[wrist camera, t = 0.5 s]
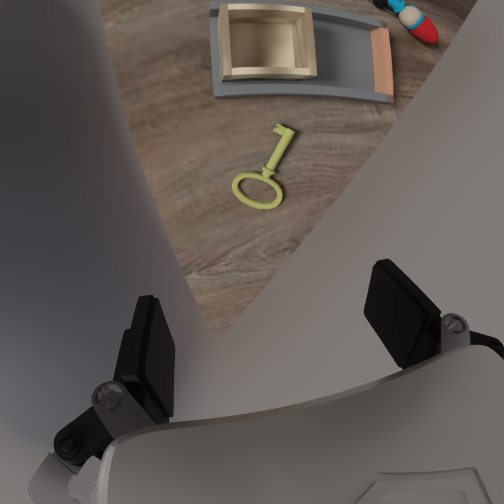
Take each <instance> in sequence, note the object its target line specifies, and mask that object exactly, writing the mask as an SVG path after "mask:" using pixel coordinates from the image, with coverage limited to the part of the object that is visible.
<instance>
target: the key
mask: <svg viewBox="0 0 504 504" xmlns="http://www.w3.org/2000/svg"><path fill="white" fill-rule="evenodd" d="M276 125H277V126H278V128H277V127H276V128H274V130H273V131H275V132H277V133H279V134H281V135H283V136H282V138H281V140H280V141H279V143H278V145H277V147H276V149H275V151H274V152H273V154H272V156H271V158H270V160H269V161H268V163H267V165H266V166H263V167H262V169H263V173H262V174H261V173H258V172H252V171H247V172H242V173H240V174H238V175H237V176H236V177H235V179H234V181H233V183H232V189H233V192H234V194H235V195H236V196H237V198H238V199H239V200H241V201H242V202H244V203H245V204H247V205H249V206H252V207H255V208H260V209H270V208H274V207H276V206H278V205H279V204H280V202H281V200H282V190H281V188H280V186H279V185H278V183H276V182H275V181H274V180H273V179H271V178H270V176H271V175H275V171H274V169H275V167H276V165H277V164H278V162H279V160H280V158H281V156H282V155H283V153H284V151H285V149H286V147H287V146H288V144H289V142H290V140H291V139H292V137H293V135H294V133H295V132H294V131H292V130H290V129H288V128H285V127H283V126H281V125H279V124H276ZM250 177H251V178H257V179H260V180H263V181H265V182H267V183H269V184H270V185H272V186H273V187H274V188H275V190H276V191H277V197H276V199H275V200H274V201H272V202H259V201H255V200H253V199H251V198H249V197H247V196H246V195H244V194H243V193H242V192H241V191H240V189H239V188H238V183H239V181H240V180H241V179H243V178H250Z"/></svg>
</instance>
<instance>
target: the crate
mask: <svg viewBox="0 0 504 504" xmlns="http://www.w3.org/2000/svg"><path fill="white" fill-rule="evenodd" d="M218 39H219V56H220V72H221V83H223V82H237V81H302V80H305V79H308V78H311V77H314V76H317V66H316V52H315V40H314V29H313V20H312V11H311V8H306V7H298V6H288V5H274V4H220V9H219V15H218Z"/></svg>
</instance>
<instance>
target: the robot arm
mask: <svg viewBox="0 0 504 504" xmlns="http://www.w3.org/2000/svg"><path fill="white" fill-rule="evenodd" d="M440 314H441V311H440V310H439V308H437V306H436V305H435V304H434V303H433V302H432V301H431V300H430V299H429V298H428V297H427V296H426V295H425V294H424V293H423V292H422V291H421V290H420V288H419V287H418V286H417V285H415V283H414V282H413V281H412V280H410V278H409V277H408V276H406V274H404V272H403V271H401V270H400V269H399V268H398V267H397V266H396V265H395V264H394V263H393V262H392V261H391V260H390V259H383V260H378V261H377V262H376V264H375V265H374V266H373V269H372V274H371V279H370V284H369V289H368V294H367V298H366V303H365V307H364V315H365V317H366V319H367V320H368V322H369V323H370V325H371V326H372V327H373V329H374V330H375V332H376V333H377V335H378V336H379V338H380V339H381V341H382V342H383V344H384V345H385V347H386V349H387V350H388V352H389V353H390V355H391V356H392V358H393V359H394V361H395V362H396V364H397V365H398V366H399V367H401V368H402V369H403V370H402V371H399V372H397V373H394V374H391V375H389V376H386V377H384V378H381V379H378V380H376V381H373V382H370V383H367V384H364V385H361V386H358V387H355V388H352V389H349V390H346V391H343V392H340V393H336V394H332V395H329V396H325V397H322V398H318V399H314V400H310V401H306V402H302V403H298V404H293V405H289V406H284V407H280V408H275V409H270V410H264V411H259V412H253V413H248V414H240V415H234V416H226V417H218V418H210V419H201V420H191V421H181V422H172V423H169V417H173V407H174V367H175V345H174V341H173V339H172V336H171V334H170V331H169V328H168V325H167V322H166V319H165V317H164V314H163V311H162V308H161V305H160V302H159V299H158V298H154V296H153V295H147V296H140V297H139V298H138V301H137V305H136V309H135V312H134V316H133V321H132V324H131V328H130V329H126V330H125V332H124V334H123V338H122V342H121V346H120V350H119V355H118V359H117V364H116V368H115V373H114V378H113V381H106V382H103V383H101V384H100V385H98V386H97V387H96V388H95V390H94V391H93V393H92V396H91V403H92V407H90V408H89V409H88V410H87V411H85V412H84V413H83V414H81V415H80V416H79V417H77V418H76V419H75V420H73V421H72V422H71V423H69V424H68V425H67V426H66V427H64V428H63V429H61V430H60V431H59V432H58V433H57V435H56V436H55V439H54V449H55V451H54V452H53V454H51V453H49V454H48V455H47V457H46V458H45V459H44V461H43V462H42V464H41V465H40V467H39V468H38V469H37V471H36V472H35V474H34V475H33V477H32V478H31V480H30V481H29V484H28V492H29V496H30V497H31V498H32V500H33V501H34V502H35V503H36V504H92V503H91V501H90V493H91V491H92V489H93V488H94V486H95V485H94V484H93V483H94V481H95V480H96V478H98V482H97V497H96V498H97V499H96V504H504V346H503V344H502V343H501V342H500V341H499V340H498V339H496V338H494V337H491V336H487V335H484V334H480V333H477V332H473V331H470V330H469V326H468V323H467V322H466V320H465V319H464V318H463V317H461V316H459V315H457V314H453V313H449V314H446V315H444V316H443V317H442V318H441V317H440Z"/></svg>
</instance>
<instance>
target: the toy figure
mask: <svg viewBox="0 0 504 504" xmlns="http://www.w3.org/2000/svg"><path fill="white" fill-rule="evenodd" d="M372 2H373V4H374V5H376V6H377V7H379V8H382V7H383V6H384V7H385V8H386V9H388V10H390V11H392V12H394V13H399V19H400V21H401V23H402V24H403V25H404V26H406V28H407V29H408V30H409V32H410V33H412V34H413V35H414V36H415V37H417V38H418V39H420V40H422V41H424V42H426V43H430V44H434V43H437V42H438V39H439V36H438V32H437V30H436V28H435V26H434V25H433V23H432V22H431V21H430V20H429V19H428V18H427V17H426V16H424V15H423V14H422V13H421V12H420V11H419V10H418V9H417V8H416V7H415V6H413V5H411V6H405V1H403V0H400V1H399V0H373V1H372ZM386 3H387V4H388V5H389V6H391V7H392V8H393V9H394V10H392V9H390V8H388V7H386V6H385V5H384V4H386Z"/></svg>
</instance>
